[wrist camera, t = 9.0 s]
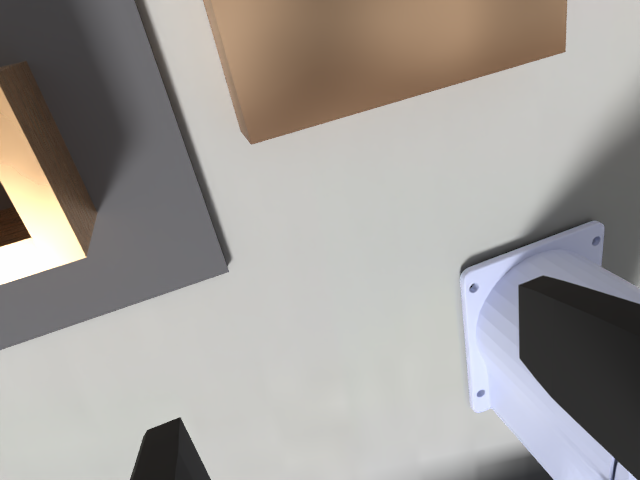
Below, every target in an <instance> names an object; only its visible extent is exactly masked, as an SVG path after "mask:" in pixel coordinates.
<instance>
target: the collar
mask: <svg viewBox="0 0 640 480" xmlns="http://www.w3.org/2000/svg"><path fill="white" fill-rule="evenodd" d="M0 181H1V183H2V185H3V187H4V188H5V190H6V192H7V194H8V196H9V197H10V199H11V201H12V203H13V205H14V206H15V207H11V208H8V209H4V210H1V211H0V285H1V284H4V283H7V282H10V281H13V280H16V279H20V278H23V277H26V276H29V275H32V274H35V273H39V272H42V271H45V270H48V269H51V268H54V267H57V266H61V265H64V264H67V263H70V262H73V261H76V260H80V259H83V258H86V257H87V253H88V249H89V245H90V241H91V237H92V233H93V229H94V225H95V221H96V217H97V211H96V209H95V207H94V205H93V202H92V200H91V198H90V196H89V194H88V192H87V190H86V187H85V185H84V183H83V181H82V179H81V177H80V175H79V172H78V170H77V168H76V166H75V164H74V162H73V160H72V157H71V155H70V153H69V151H68V149H67V147H66V145H65V142H64V140H63V138H62V136H61V134H60V132H59V130H58V127H57V125H56V123H55V121H54V119H53V117H52V115H51V112H50V110H49V108H48V106H47V104H46V102H45V100H44V98H43V95H42V93H41V91H40V89H39V87H38V85H37V83H36V80H35V78H34V76H33V74H32V72H31V70H30V68H29V65H28V63H27V61H24V62H20V63H16V64H12V65H7V66H3V67H0Z"/></svg>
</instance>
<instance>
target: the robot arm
mask: <svg viewBox="0 0 640 480" xmlns="http://www.w3.org/2000/svg"><path fill="white" fill-rule="evenodd" d="M604 230H605V228H604V225H603V223H600V222H598V221H596V220H594V221H590V222H588V223H585V224H582V225H580V226H577V227H574V228H572V229H569V230H566V231H564V232H561V233H558V234H556V235H553V236H550V237H548V238H545V239H542V240H540V241H537V242H534V243H532V244H529V245H526V246H524V247H521V248H518V249H516V250H513V251H510V252H508V253H505V254H502V255H500V256H497V257H495V258H492V259H489V260H487V261H484V262H481V263H479V264H476V265H473V266H471V267H468V268H466V269H465V270H464V271H463V272H462V274H461V276H460V285H461V297H462V310H463V322H464V334H465V347H466V359H467V371H468V384H469V396H470V406H471V408H472V409H473V411H474V412H476V413H481V412H483V411H486V410H488V409H490V408H492V409H493V410H494V412H495V413H496V414H497V415H498V416H499V417H500V418H501V420H502V421H503V422H504V423H505V424H506V425H507V427H508V428H509V429H510V430H511V431H512V432H513V433H514V435H515V436H516V437H517V438H518V439H519V440H520V441H521V443H522V444H523V445H524V446H525V447H526V448H527V449H528V451H529V452H530V453H531V454H532V455H533V456H534V457H535V459H536V460H537V461H538V462H539V463H540V464H541V465H542V467H543V468H544V469H545V470H546V471H547V472H548V473H549V475H550V476H551V477H552V478H553V479H554V480H640V288H639V287H637V286H635V285H633V284H632V283H630V282H628V281H626V280H624V279H623V278H621V277H619V276H617V275H615V274H614V273H612V272H610V271H608V270H606V269H605V268H603V267H601V266H602V254H603V242H604ZM472 284H474V285H473V286H472V287H471V288H470V286H471V285H472ZM469 288H470V289H469ZM130 480H211V479H210V477H209V475H208V473H207V471H206V469H205V467H204V465H203V463H202V461H201V459H200V457H199V455H198V452H197V450H196V448H195V446H194V444H193V442H192V440H191V438H190V436H189V434H188V432H187V430H186V428H185V426H184V424H183V422H182V420H181V418H177V419H175V420H172V421H169V422H167V423H164V424H162V425H159V426H157V427H154V428H152V429H149V430H147V432H146V433H145V435H144V437H143V440H142V443H141V446H140V450H139V453H138V456H137V459H136V463H135V466H134V469H133V472H132V475H131V478H130Z"/></svg>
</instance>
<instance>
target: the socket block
mask: <svg viewBox="0 0 640 480" xmlns="http://www.w3.org/2000/svg"><path fill="white" fill-rule="evenodd" d="M203 2H204V5H205V9H206V12H207V16H208V19H209V22H210V26H211V29H212V33H213V36H214V40H215V43H216V47H217V50H218V54H219V57H220V61H221V64H222V68H223V71H224V75H225V78H226V82H227V85H228V88H229V92H230V95H231V99H232V102H233V106H234V109H235V113H236V116H237V120H238V123H239V127H240V130H241V132H242V134H243V135H244V136H245V137H246V139H247V140H248V141H249V142H250V144H255V143H258V142H262V141H265V140H268V139H272V138H275V137H279V136H282V135H285V134H289V133H292V132H295V131H299V130H302V129H306V128H309V127H312V126H316V125H319V124H323V123H326V122H329V121H333V120H336V119H340V118H343V117H346V116H350V115H353V114H356V113H360V112H363V111H367V110H370V109H373V108H377V107H380V106H384V105H387V104H390V103H394V102H397V101H401V100H404V99H407V98H411V97H414V96H417V95H421V94H424V93H428V92H431V91H434V90H438V89H441V88H445V87H448V86H451V85H455V84H458V83H462V82H465V81H468V80H472V79H475V78H478V77H482V76H485V75H489V74H492V73H495V72H499V71H502V70H506V69H509V68H512V67H516V66H519V65H523V64H526V63H529V62H533V61H536V60H539V59H543V58H546V57H550V56H553V55H556V54H560V53H563V52H565V48H566V18H567V0H203Z"/></svg>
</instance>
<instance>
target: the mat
mask: <svg viewBox="0 0 640 480" xmlns="http://www.w3.org/2000/svg"><path fill="white" fill-rule="evenodd" d="M24 61H27V63H28V65H29V68H30V70H31V72H32V74H33V76H34V78H35V80H36V83H37V85H38V87H39V89H40V91H41V93H42V95H43V98H44V100H45V102H46V104H47V106H48V108H49V110H50V112H51V115H52V117H53V119H54V121H55V123H56V125H57V127H58V130H59V132H60V134H61V136H62V138H63V140H64V142H65V145H66V147H67V149H68V151H69V153H70V155H71V157H72V160H73V162H74V164H75V166H76V168H77V170H78V172H79V175H80V177H81V179H82V181H83V183H84V185H85V187H86V190H87V192H88V194H89V196H90V198H91V200H92V202H93V205H94V207H95V209H96V211H97V217H96V221H95V225H94V229H93V233H92V237H91V241H90V245H89V249H88V253H87V257H86V258H83V259H80V260H76V261H73V262H70V263H67V264H64V265H61V266H57V267H54V268H51V269H48V270H45V271H42V272H39V273H35V274H32V275H29V276H26V277H23V278H20V279H16V280H13V281H10V282H7V283H4V284H1V285H0V350H2V349H5V348H8V347H11V346H13V345H16V344H19V343H22V342H25V341H28V340H31V339H34V338H37V337H40V336H43V335H46V334H49V333H51V332H54V331H57V330H60V329H63V328H66V327H69V326H72V325H75V324H78V323H81V322H84V321H87V320H89V319H92V318H95V317H98V316H101V315H104V314H107V313H110V312H113V311H116V310H119V309H122V308H125V307H127V306H130V305H133V304H136V303H139V302H142V301H145V300H148V299H151V298H154V297H157V296H160V295H163V294H165V293H168V292H171V291H174V290H177V289H180V288H183V287H186V286H189V285H192V284H195V283H198V282H201V281H203V280H206V279H209V278H212V277H215V276H218V275H221V274H224V273H227V272H229V270H228V267H227V264H226V261H225V259H224V256H223V253H222V250H221V247H220V244H219V241H218V239H217V236H216V233H215V230H214V227H213V224H212V221H211V218H210V216H209V213H208V210H207V207H206V204H205V201H204V198H203V195H202V193H201V190H200V187H199V184H198V181H197V178H196V175H195V173H194V170H193V167H192V164H191V161H190V158H189V155H188V152H187V150H186V147H185V144H184V141H183V138H182V135H181V132H180V129H179V127H178V124H177V121H176V118H175V115H174V112H173V109H172V107H171V104H170V101H169V98H168V95H167V92H166V89H165V86H164V84H163V81H162V78H161V75H160V72H159V69H158V66H157V63H156V61H155V58H154V55H153V52H152V49H151V46H150V43H149V41H148V38H147V35H146V32H145V29H144V26H143V23H142V20H141V18H140V15H139V12H138V9H137V6H136V3H135V0H0V67H3V66H7V65H12V64H16V63H20V62H24ZM11 207H15V206H14V205H13V203H12V201H11V199H10V197H9V196H8V194H7V192H6V190H5V188H4V187H3V185H2V183H1V181H0V211H1V210H4V209H8V208H11Z"/></svg>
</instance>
